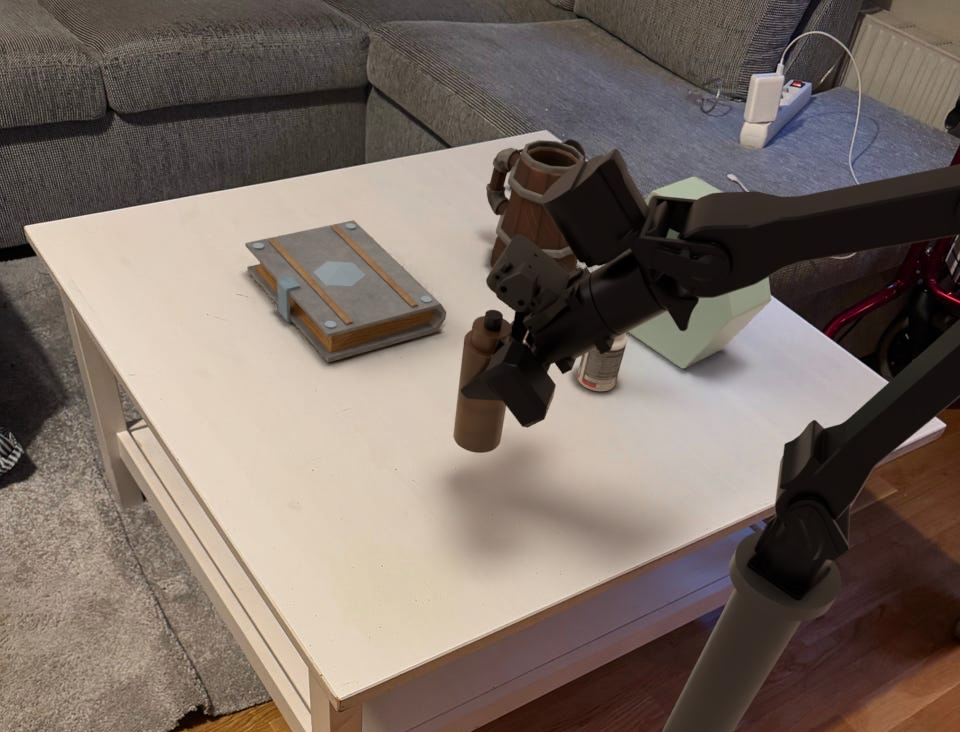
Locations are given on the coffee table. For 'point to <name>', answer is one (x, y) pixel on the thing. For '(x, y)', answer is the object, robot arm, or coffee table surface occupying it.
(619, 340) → the pill bottle
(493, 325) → the pepper mill
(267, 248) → the book
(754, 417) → the coffee table surface
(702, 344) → the planter
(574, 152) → the mug
